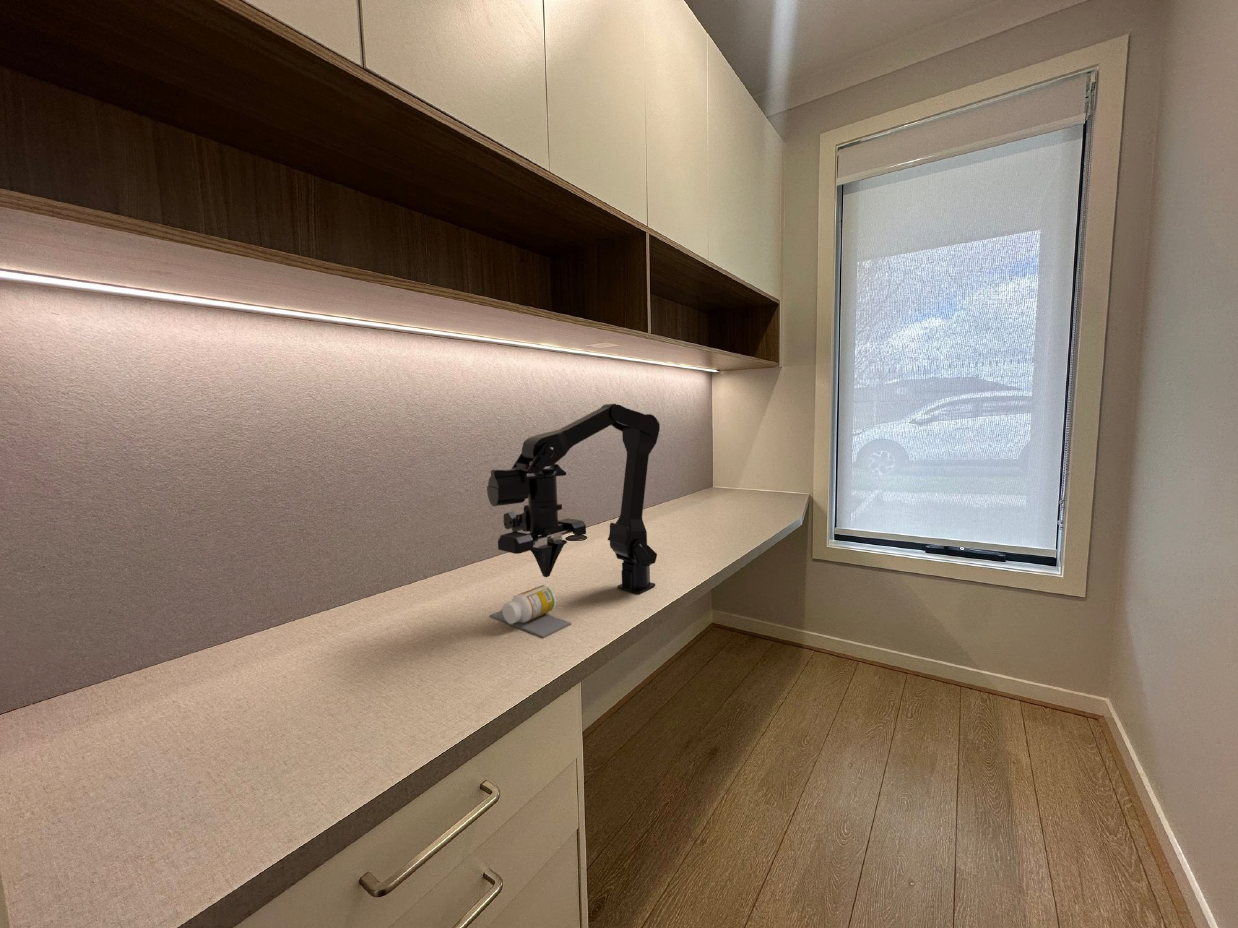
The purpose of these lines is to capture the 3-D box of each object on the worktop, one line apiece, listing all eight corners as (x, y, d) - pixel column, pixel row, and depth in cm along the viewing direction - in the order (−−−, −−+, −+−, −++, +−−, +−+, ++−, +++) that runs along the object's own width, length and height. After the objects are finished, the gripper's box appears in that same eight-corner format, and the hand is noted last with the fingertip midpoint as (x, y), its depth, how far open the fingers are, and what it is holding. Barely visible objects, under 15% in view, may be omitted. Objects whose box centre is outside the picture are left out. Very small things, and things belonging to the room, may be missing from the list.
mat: (517, 605, 102) (517, 603, 102) (571, 624, 92) (571, 622, 92) (489, 616, 96) (489, 614, 96) (543, 637, 86) (543, 636, 86)
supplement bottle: (536, 603, 100) (498, 619, 92) (540, 579, 99) (501, 594, 91) (554, 615, 97) (516, 633, 89) (558, 591, 95) (519, 607, 88)
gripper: (550, 490, 108) (553, 558, 109) (478, 503, 93) (483, 581, 95) (586, 494, 101) (589, 567, 102) (515, 509, 86) (519, 593, 88)
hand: (546, 576), depth 97 cm, fingers closed
